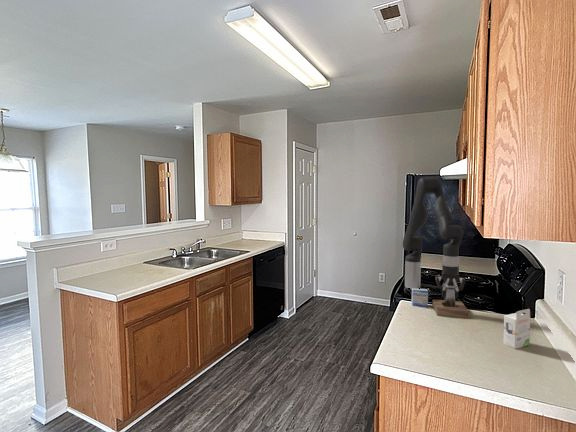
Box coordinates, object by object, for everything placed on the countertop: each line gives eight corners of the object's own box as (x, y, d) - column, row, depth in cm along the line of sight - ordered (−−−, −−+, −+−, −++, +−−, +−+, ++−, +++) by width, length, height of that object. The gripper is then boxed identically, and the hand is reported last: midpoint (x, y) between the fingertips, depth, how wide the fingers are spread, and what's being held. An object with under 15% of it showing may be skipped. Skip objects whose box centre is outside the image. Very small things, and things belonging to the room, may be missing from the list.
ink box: (517, 340, 131) (518, 304, 130) (530, 345, 126) (531, 308, 125) (502, 343, 127) (503, 307, 126) (515, 349, 123) (516, 311, 122)
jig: (432, 305, 171) (432, 299, 171) (461, 308, 167) (461, 301, 167) (437, 315, 158) (437, 308, 157) (468, 318, 154) (468, 310, 154)
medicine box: (412, 305, 172) (412, 289, 171) (411, 303, 176) (411, 287, 176) (427, 307, 170) (428, 291, 169) (426, 304, 174) (427, 288, 173)
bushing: (442, 301, 166) (442, 282, 165) (454, 302, 164) (455, 283, 164) (444, 305, 160) (445, 285, 160) (457, 306, 159) (457, 286, 158)
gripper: (464, 263, 163) (463, 296, 164) (433, 262, 167) (433, 294, 168) (468, 266, 156) (467, 301, 157) (436, 265, 159) (435, 298, 160)
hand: (449, 297), depth 162 cm, fingers closed on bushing, 4 cm apart
